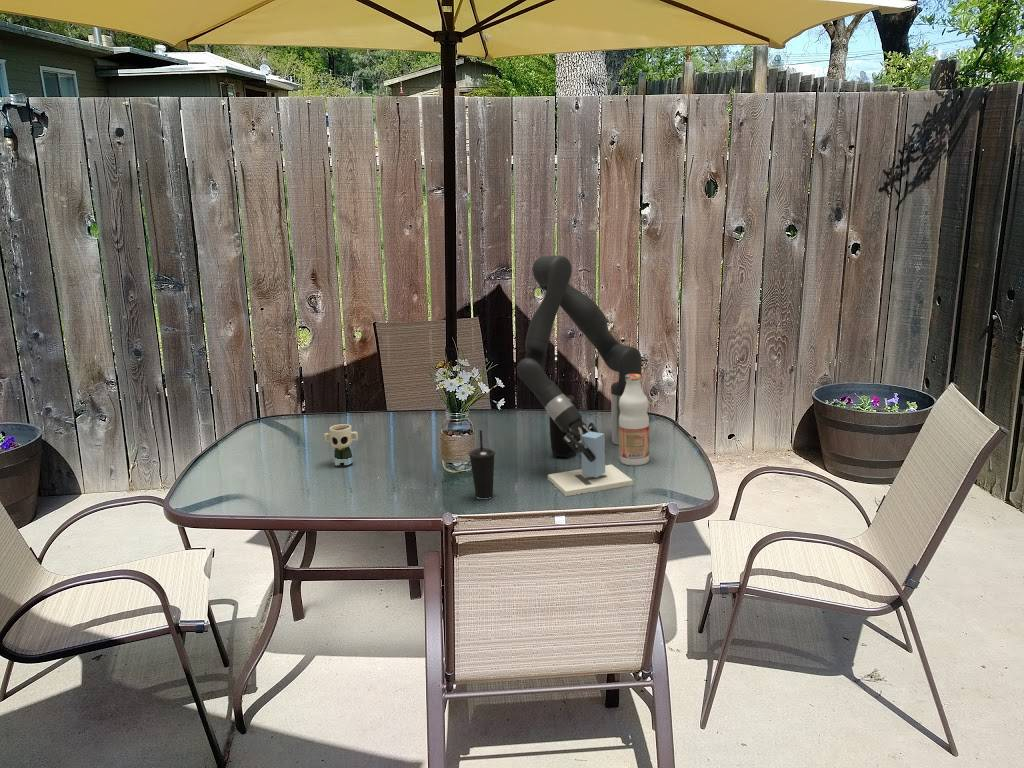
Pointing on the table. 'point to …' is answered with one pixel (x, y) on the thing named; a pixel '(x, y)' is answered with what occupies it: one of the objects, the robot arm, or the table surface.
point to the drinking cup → (482, 469)
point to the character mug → (341, 440)
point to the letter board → (589, 481)
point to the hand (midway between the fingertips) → (598, 457)
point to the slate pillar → (598, 449)
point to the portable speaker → (560, 439)
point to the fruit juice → (633, 423)
